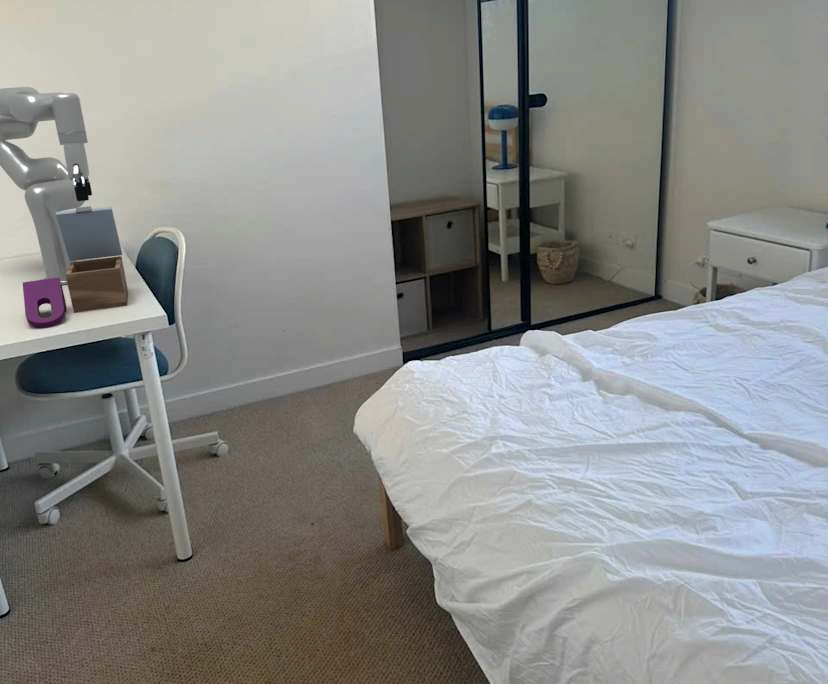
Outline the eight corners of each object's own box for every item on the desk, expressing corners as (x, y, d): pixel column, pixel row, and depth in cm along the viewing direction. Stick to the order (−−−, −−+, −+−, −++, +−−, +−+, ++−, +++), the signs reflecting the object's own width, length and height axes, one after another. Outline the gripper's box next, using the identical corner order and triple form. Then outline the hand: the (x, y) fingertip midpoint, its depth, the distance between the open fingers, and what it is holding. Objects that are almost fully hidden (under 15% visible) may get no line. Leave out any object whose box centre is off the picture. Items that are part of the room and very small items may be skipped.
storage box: (78, 297, 221) (71, 262, 217) (128, 291, 225) (121, 256, 221) (73, 312, 207) (65, 274, 203) (126, 305, 211) (119, 268, 207)
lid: (69, 262, 217) (69, 258, 218) (122, 256, 221) (122, 252, 222) (55, 213, 205) (55, 209, 206) (111, 208, 209) (110, 204, 210)
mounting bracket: (71, 342, 202) (65, 299, 213) (65, 319, 196) (59, 277, 208) (33, 348, 199) (29, 305, 210) (26, 325, 193) (22, 282, 204)
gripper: (62, 137, 220) (74, 195, 226) (54, 142, 204) (67, 203, 210) (89, 135, 222) (100, 192, 228) (83, 140, 206) (95, 201, 212)
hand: (84, 198), depth 219 cm, fingers open, 9 cm apart
